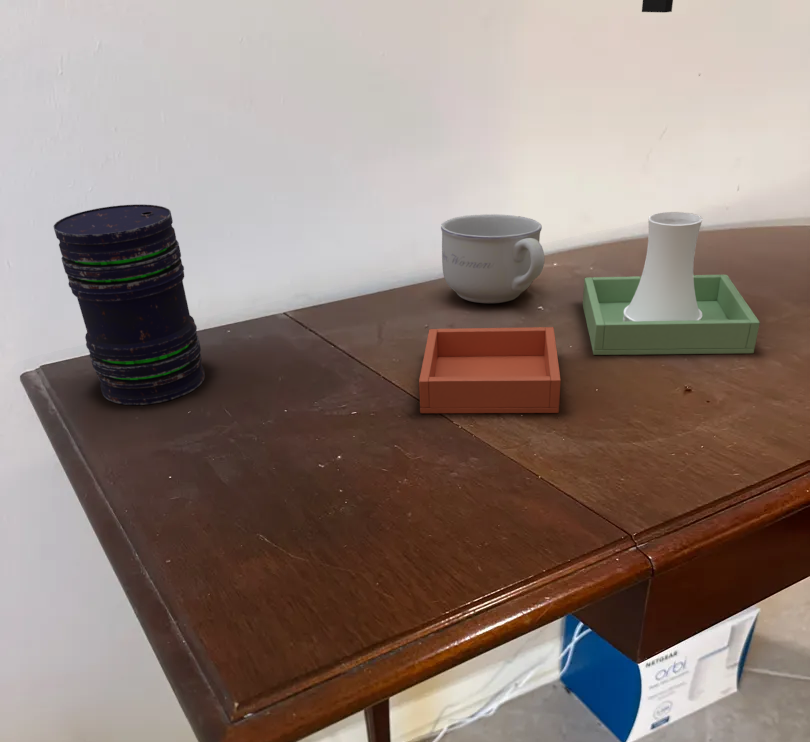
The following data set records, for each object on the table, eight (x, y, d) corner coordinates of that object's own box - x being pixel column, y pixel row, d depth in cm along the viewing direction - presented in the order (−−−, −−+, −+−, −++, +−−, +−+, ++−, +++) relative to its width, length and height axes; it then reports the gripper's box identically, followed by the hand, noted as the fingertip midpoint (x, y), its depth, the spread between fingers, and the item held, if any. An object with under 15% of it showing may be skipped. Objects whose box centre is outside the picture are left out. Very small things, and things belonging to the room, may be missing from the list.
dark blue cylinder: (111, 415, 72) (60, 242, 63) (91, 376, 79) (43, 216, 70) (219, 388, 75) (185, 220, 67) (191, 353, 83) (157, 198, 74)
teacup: (428, 289, 95) (426, 217, 90) (512, 274, 98) (514, 204, 93) (477, 328, 84) (477, 249, 79) (570, 310, 87) (575, 233, 82)
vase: (680, 305, 85) (695, 204, 79) (714, 331, 79) (733, 224, 73) (611, 313, 84) (621, 212, 78) (640, 340, 78) (653, 232, 72)
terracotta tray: (552, 357, 77) (553, 326, 75) (558, 413, 68) (560, 379, 66) (430, 358, 78) (429, 328, 77) (420, 413, 69) (418, 380, 67)
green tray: (722, 302, 86) (727, 274, 85) (753, 353, 75) (760, 322, 74) (582, 305, 88) (584, 277, 86) (593, 355, 77) (596, 324, 75)
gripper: (832, -320, 66) (776, -5, 78) (595, -347, 56) (574, 16, 69) (921, -348, 60) (846, -6, 73) (675, -383, 51) (637, 18, 63)
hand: (714, 6), depth 71 cm, fingers open, 13 cm apart
